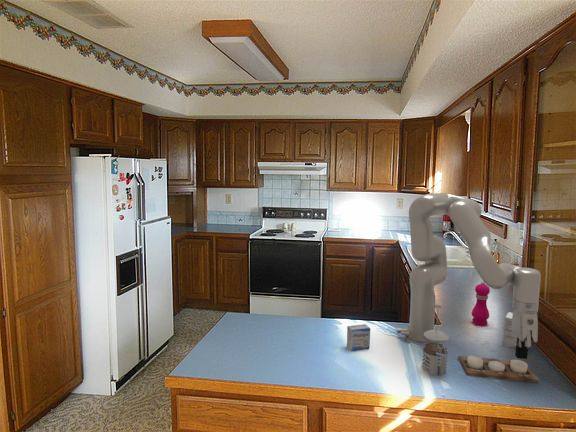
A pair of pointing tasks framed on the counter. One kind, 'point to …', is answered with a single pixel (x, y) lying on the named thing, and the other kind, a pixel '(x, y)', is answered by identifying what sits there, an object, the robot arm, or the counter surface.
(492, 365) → the button
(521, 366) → the button
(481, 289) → the pepper mill
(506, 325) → the supplement box
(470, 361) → the three-pip button
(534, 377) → the button panel
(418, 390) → the counter surface
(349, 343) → the medicine box
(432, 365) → the french press
